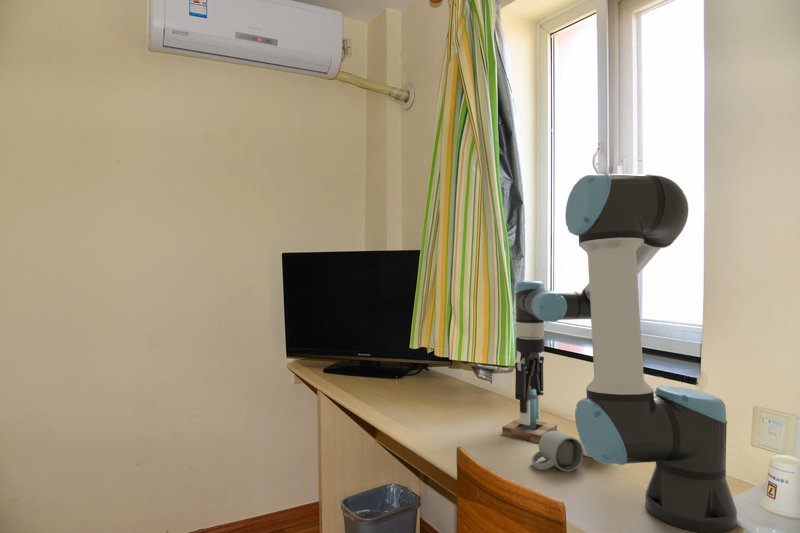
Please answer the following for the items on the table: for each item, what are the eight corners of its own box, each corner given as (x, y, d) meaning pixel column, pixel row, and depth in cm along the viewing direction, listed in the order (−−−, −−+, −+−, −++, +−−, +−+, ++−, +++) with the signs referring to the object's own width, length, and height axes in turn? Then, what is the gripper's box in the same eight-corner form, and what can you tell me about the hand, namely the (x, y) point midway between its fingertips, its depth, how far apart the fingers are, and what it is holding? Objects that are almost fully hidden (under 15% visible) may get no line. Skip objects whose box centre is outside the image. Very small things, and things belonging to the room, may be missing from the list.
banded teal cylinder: (532, 436, 141) (532, 392, 141) (519, 433, 144) (519, 390, 143) (538, 432, 144) (538, 389, 144) (526, 429, 147) (526, 387, 146)
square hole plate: (540, 443, 136) (540, 435, 136) (502, 434, 143) (502, 427, 143) (556, 431, 145) (556, 424, 145) (520, 424, 152) (520, 417, 152)
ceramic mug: (562, 456, 127) (562, 425, 127) (584, 469, 119) (583, 436, 119) (524, 463, 124) (523, 430, 124) (544, 476, 116) (543, 442, 116)
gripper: (531, 332, 153) (531, 410, 153) (501, 340, 139) (501, 427, 139) (556, 334, 148) (556, 415, 149) (527, 342, 134) (527, 433, 134)
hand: (529, 421), depth 144 cm, fingers open, 5 cm apart
